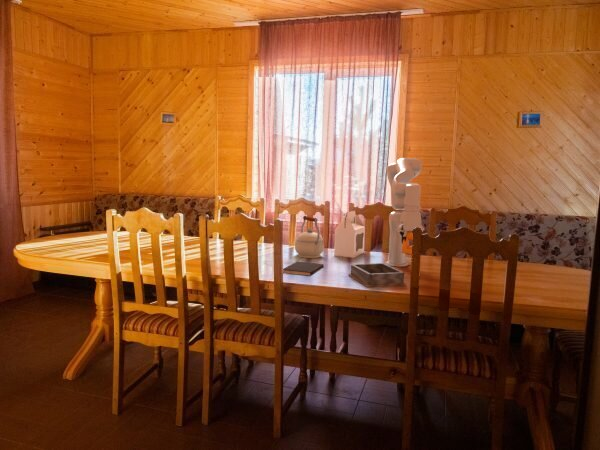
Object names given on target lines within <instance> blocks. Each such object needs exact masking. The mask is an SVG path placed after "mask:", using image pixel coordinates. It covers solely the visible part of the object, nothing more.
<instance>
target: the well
mask: <svg viewBox="0 0 600 450" xmlns="http://www.w3.org/2000/svg"><path fill="white" fill-rule="evenodd" d="M348 277H350V278H352V279H353V280H355V281H356V282H357V283H359V284H361V285H363V286H364V287H366V288H368V289H369V288H385V287H403V286H406V285H407V283H406V282H405V272H404V271H402V270H400V269H397V268H395V267H394V266H390V265H387V264H386V262H385V263H383V262H380V263H379V262H375V263H354V264H350V272H349V273H348Z"/></svg>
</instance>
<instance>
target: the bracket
mask: <svg viewBox="0 0 600 450" xmlns="http://www.w3.org/2000/svg"><path fill="white" fill-rule="evenodd" d="M405 237H406V241H405V239H404V240H403V245H402V253H405V255H406V254H407V255H413V254H412V246H413V245H410V241H414V240H413V233H412V231H407V234H406V236H405Z"/></svg>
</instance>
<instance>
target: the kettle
mask: <svg viewBox="0 0 600 450" xmlns="http://www.w3.org/2000/svg"><path fill="white" fill-rule="evenodd" d="M302 219H303V222H302V224H301V227H300V233H299V234H298V235H297V237H295V240H296V241H295V244H294V249H295V252H296V254H297V256H298V257H299V258H304V259H315V258H316V259H317V258H320V257H321V255H322V253H323V252H324V250H325V244H324V242H323V241H325V240H324V238H323V237H322V235H321V234H320V229H319V227H318V218H316V217H312V216H307V215H303V217H302ZM306 221H309V222H314V226H315V228H316V232H313V231H314V230H313V228H311V227H309V228H307V229H306V231H304V226H305V224H306Z"/></svg>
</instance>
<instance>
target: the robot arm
mask: <svg viewBox="0 0 600 450" xmlns="http://www.w3.org/2000/svg"><path fill="white" fill-rule="evenodd" d="M422 169H423V162H422V160H421V159H420V158H417V157H416V158H415V157H413V158H412V157H401V158H399V159H397V160H396V162H393V163H389V164H388V166H387V168H386V175H387V180H388V183H389V185H390V204H391V207H392V209H394V210H395V211H394V210H393V211H392V212H390V213H389V215H388V221H389V223H388V224H389V242H388V243H389V245H388V259H387V261H385V264H387V265H389V266H391V267H398V268H399V267H407V266H408V265H409V264H408V262H412V261H411V258H412V257H407V256H406V254H405V253H402V245H403V240H404V239H405V241H406V237H405V236H406V234H407V231H413V229H414V228H415V227H419V228H421V230H422V233H423V232H424V231H425V230H426V229H425V227H424V225H422V213H421V211H420V210H422V209H423V208H422V206H421V195H422V186H421V185H420V184H419V183H416V182H411V181H413V179H414V178H416V177H418V176H419V175H420V174H421V173H422Z"/></svg>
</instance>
